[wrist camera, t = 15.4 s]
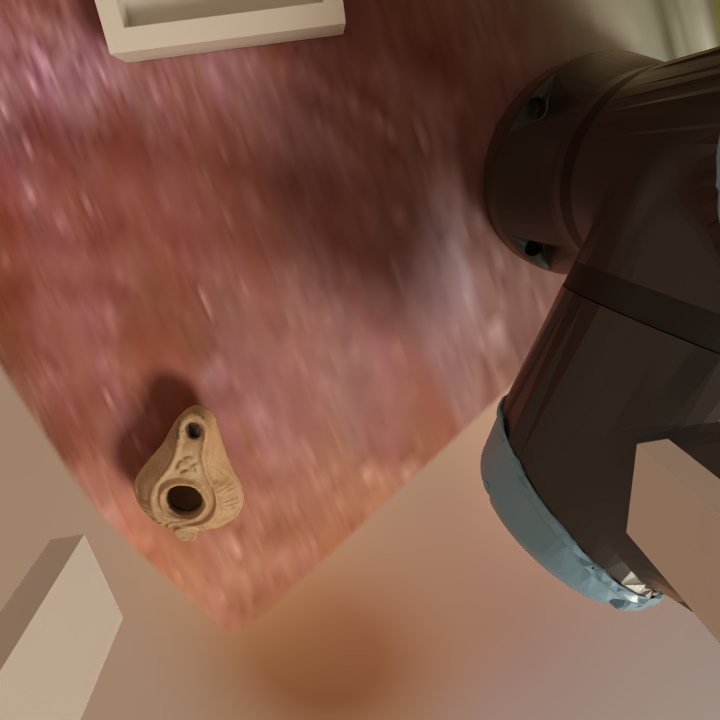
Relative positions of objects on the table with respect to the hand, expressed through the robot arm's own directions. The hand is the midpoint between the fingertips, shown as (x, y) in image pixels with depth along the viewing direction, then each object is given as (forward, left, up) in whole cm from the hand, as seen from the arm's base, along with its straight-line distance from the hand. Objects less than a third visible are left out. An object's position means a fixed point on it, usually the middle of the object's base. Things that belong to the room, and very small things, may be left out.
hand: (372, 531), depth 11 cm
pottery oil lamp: (+14, +15, -29) cm, 35 cm away
